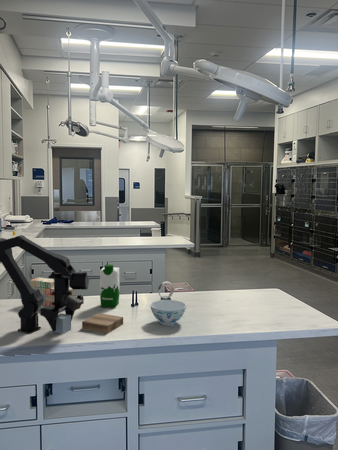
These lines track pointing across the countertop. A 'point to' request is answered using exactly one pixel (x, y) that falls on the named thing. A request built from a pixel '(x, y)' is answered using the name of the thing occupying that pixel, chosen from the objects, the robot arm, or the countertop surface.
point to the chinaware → (168, 311)
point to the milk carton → (109, 286)
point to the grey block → (63, 323)
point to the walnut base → (102, 323)
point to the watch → (162, 289)
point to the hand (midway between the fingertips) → (61, 327)
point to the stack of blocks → (46, 289)
